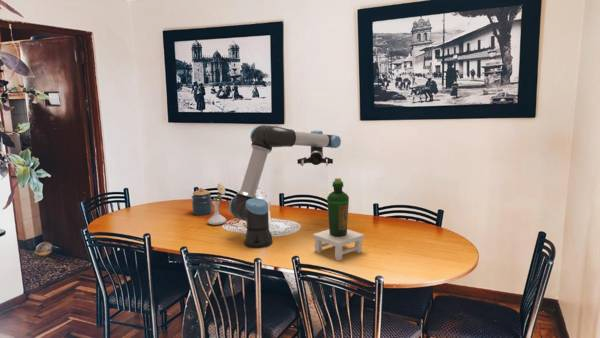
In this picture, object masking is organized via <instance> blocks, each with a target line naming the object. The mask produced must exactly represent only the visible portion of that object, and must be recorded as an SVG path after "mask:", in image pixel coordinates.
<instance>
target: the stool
mask: <svg viewBox="0 0 600 338" xmlns="http://www.w3.org/2000/svg"><path fill="white" fill-rule="evenodd" d="M312 239H314V240H315V241H314V245H315V246H314V252H315V253H318V254H319V253H322V252H323V248H324V247H328V246H330V245H331V246H334V260H336V261H342V260H343V255H345V254H348V253H350V252H355V253H357V254H360V253H363V239H365V234H363V233H360V232H357V231H354V230H350V229H347V234H346V235H345V236H341V237H336V236H332V235H331V234H330V232H329V229H326V230H323V231H319V232H315V233H312ZM351 243H352V244H353V243H354V246H353V247H350V248H348V249H345V250H343V247H344V246H346V245H349V244H351Z"/></svg>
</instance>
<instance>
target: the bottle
mask: <svg viewBox="0 0 600 338" xmlns="http://www.w3.org/2000/svg"><path fill="white" fill-rule="evenodd" d="M332 187H333V191H331V192H330V193H329V194H328V195H327V197H326V199H327V214H328V216H327V218H328V228H329V229H328V230H329V232H330V234H331V235H332V236H336V237H341V236H345V235H346V234H347V230H348V221H349V220H348V219H349V201H350V197H349V195H348V194H347V193H346V192H345V191H343V188H344V181H342V178H340V177H339V178H334V181H332Z"/></svg>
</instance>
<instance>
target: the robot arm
mask: <svg viewBox="0 0 600 338" xmlns="http://www.w3.org/2000/svg"><path fill="white" fill-rule="evenodd" d="M250 140H251V145H250V146H251V149H252V150H251V151H252V152H251V155H250V158H249V161H248V164H247V167H246V171H245V175H244V177H243V181H242V183H241V187H240V190H238V191H237V192H236V194H235V196H234V197H232V198H231V200H230V201H229V205H228V211H229V212H230V214H231V216H232V217H234V218H235V219H237V220H242V221H244V222H246V231H245V232H246V233H245V235H244V239H243V245H244V246H245V247H247V248H250V249H251V248H252V249H262V248H267V247H270V246H271V245H272V244H273V243H274V241H273V240H274V239H273V237H272V236H273V235H272V234H271V231H270V225H269V224H270V222H269V220H270V219H269V211H270V209H269V204H268V202H267V200H265V199H262V198H258V197H257V195H256V193H257V191H258V187H259V184H260V180H261V177H262V175H263V171H264V167H265V163H266V160H267V157H268V154H270V153H272V150H273V148H282V147H283V148H284V147H285V148H287V147H289V148H290V147H291V148H292V147H293V146H300V147H301V146H304V147H310V155H309V157H306V156H304V157H302V158H298V159H297V165H300V166H301V167H304V164H311V165H314V166H318V165H320V164H325V167H327V166H328V165H329V164H331V165H333V163H334V159H333V158H330V157H328V156H325V157H324V151H323V150H324V148H330V149H331V148H332V149H338V148H339V147H341V142H342V141H341V140H342V139H341V137H340V136H339V135H336V134H325V133H324V131H322V130H311V131H310V132H304V131H295V130H294V129H292V128H285V127H280V126H278V125H266V124H261V125H256V126H255V127H254V128H253V129H252V130H251V132H250Z"/></svg>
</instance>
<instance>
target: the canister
mask: <svg viewBox="0 0 600 338" xmlns="http://www.w3.org/2000/svg"><path fill="white" fill-rule="evenodd" d="M210 193H211V192H210V191H209V190H207V189H204V188H203V187H200V188H199V189H198V190H194V192H193V193H192V196H191V199H192V201H191V203H192V204H191V205H192V207H191V208H192V214H193V215H194V216H198V217H199V216H208V215H210V214H212V212H213V208H212V207H213V205H212V199H211V198H212V195H211V194H210Z"/></svg>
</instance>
